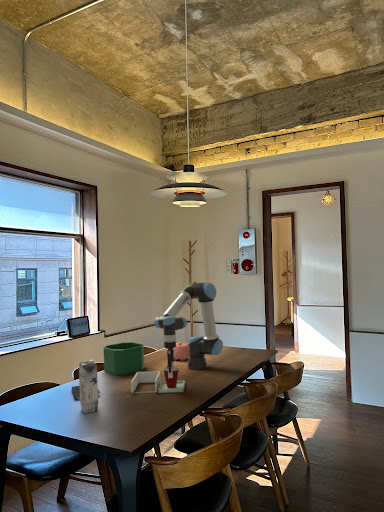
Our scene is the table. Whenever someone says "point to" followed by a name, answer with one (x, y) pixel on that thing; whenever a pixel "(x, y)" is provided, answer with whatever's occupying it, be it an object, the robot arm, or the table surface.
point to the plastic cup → (171, 381)
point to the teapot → (181, 351)
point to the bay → (146, 380)
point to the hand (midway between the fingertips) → (171, 374)
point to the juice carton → (88, 386)
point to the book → (77, 392)
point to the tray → (164, 388)
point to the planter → (123, 358)
